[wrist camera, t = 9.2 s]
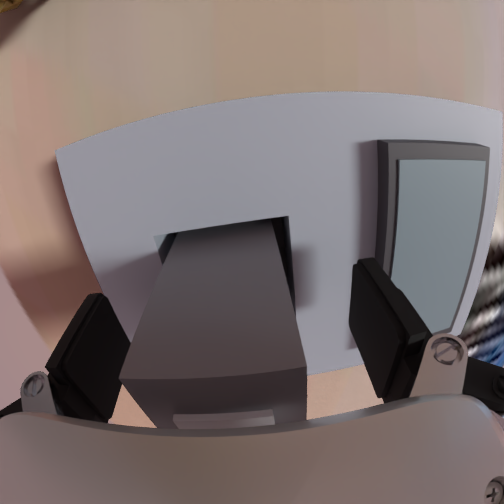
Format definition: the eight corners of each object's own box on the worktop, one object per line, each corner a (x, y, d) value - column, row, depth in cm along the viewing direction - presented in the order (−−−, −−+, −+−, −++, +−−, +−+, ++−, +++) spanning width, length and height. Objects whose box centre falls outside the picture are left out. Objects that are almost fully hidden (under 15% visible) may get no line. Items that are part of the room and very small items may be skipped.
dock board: (465, 105, 11) (516, 114, 7) (440, 307, 17) (467, 343, 14) (88, 140, 11) (40, 155, 8) (163, 353, 18) (152, 400, 14)
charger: (267, 208, 13) (308, 374, 5) (276, 280, 15) (306, 447, 7) (183, 221, 13) (115, 385, 5) (201, 290, 15) (176, 455, 7)
